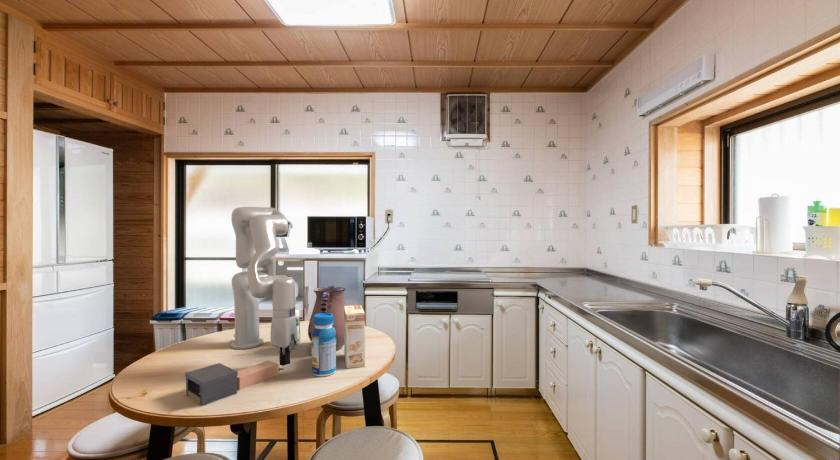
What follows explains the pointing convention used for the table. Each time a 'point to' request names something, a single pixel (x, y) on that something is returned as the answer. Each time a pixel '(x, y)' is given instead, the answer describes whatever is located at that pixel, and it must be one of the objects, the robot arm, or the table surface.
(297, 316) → the syrup box
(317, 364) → the beverage bottle
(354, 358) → the coffeecake box
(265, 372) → the terracotta slab
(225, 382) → the grey open-ended tunnel
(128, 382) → the table surface
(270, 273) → the robot arm
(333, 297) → the ceramic pitcher
